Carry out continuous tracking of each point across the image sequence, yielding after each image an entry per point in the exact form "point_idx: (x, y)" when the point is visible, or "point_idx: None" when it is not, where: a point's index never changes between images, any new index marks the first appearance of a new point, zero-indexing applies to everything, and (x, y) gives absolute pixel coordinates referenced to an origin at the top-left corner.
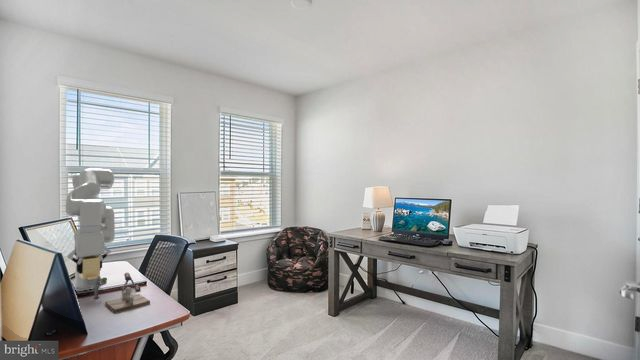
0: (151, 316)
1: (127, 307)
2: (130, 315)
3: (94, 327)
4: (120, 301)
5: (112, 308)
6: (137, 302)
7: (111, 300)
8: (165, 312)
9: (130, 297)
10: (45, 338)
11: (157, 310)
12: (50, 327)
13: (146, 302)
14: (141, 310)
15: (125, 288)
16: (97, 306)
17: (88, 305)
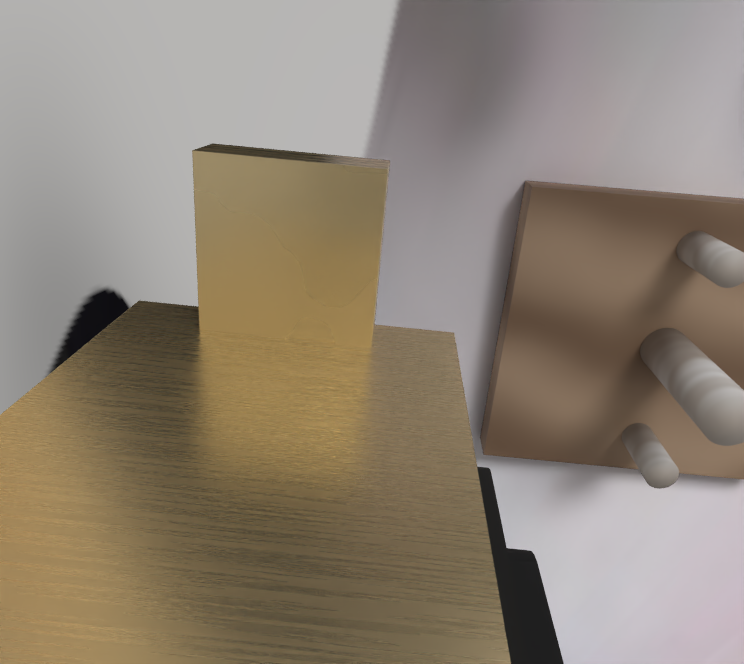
0: (591, 650)
1: (578, 457)
2: (524, 549)
3: None
4: (623, 299)
5: (492, 394)
6: (686, 443)
7: (592, 192)
8: (682, 661)
9: (649, 475)
10: None
11: (682, 603)
12: (80, 345)
13: (736, 473)
14: (623, 528)
15: (706, 412)
16: (465, 151)
17: (420, 32)
